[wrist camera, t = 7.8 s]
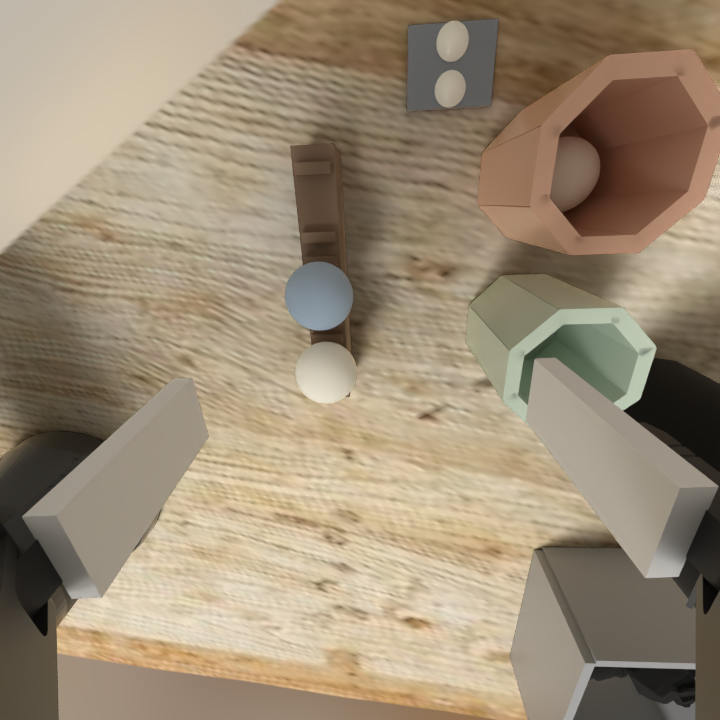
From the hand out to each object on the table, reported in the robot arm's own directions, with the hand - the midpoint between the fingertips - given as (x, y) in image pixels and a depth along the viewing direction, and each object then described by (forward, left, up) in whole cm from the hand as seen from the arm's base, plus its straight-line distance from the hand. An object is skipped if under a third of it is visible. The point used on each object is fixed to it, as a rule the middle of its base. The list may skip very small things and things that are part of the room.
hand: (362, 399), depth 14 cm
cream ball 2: (+11, +8, -14) cm, 20 cm away
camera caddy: (+24, -37, -15) cm, 47 cm away
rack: (-3, +2, -15) cm, 15 cm away
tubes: (+9, +5, -15) cm, 18 cm away
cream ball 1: (-3, -3, -11) cm, 11 cm away
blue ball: (-3, +2, -11) cm, 11 cm away
